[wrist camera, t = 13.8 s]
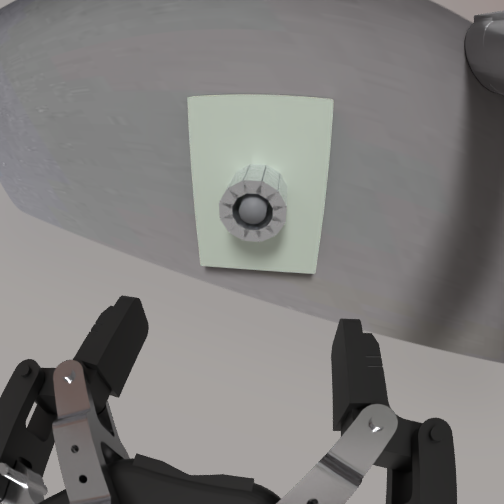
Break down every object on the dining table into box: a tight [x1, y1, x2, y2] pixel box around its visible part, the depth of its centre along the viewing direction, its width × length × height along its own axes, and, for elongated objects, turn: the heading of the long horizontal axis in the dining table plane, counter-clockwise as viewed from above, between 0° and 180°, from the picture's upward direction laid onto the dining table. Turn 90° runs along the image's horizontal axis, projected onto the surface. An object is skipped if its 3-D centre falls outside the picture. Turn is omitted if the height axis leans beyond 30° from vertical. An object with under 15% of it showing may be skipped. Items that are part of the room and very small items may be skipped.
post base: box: [187, 94, 334, 274], centre depth 29 cm, size 20×14×7 cm
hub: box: [219, 164, 287, 242], centre depth 28 cm, size 6×6×5 cm
